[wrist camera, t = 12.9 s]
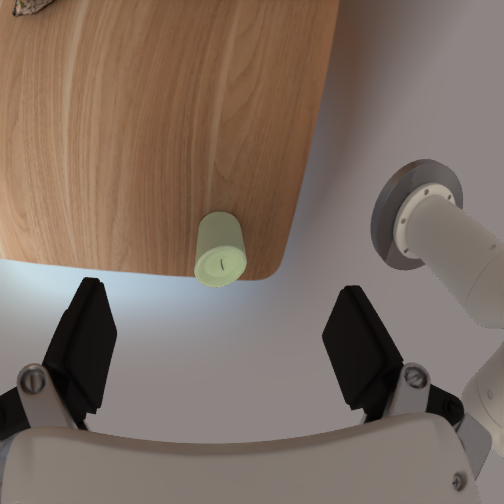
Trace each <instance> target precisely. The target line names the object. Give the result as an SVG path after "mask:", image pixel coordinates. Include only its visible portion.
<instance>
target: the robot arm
mask: <svg viewBox="0 0 504 504" xmlns="http://www.w3.org/2000/svg"><path fill="white" fill-rule="evenodd" d="M393 236H394V242H395V245H396V247H397V248H398V250H399V251H400V252H401V253H402V254H403V255H404V256H406V257H408V258H411V259H418V258H420V259H421V260H422V261H423V262H424V263H425V264H426V265H427V266H428V267H429V268H430V269H431V271H432V272H433V273H434V274H435V275H436V276H437V277H438V278H439V280H440V281H441V282H442V283H443V284H444V285H445V286H446V288H447V289H448V290H449V291H450V292H451V294H452V295H453V296H454V297H455V298H456V300H457V301H458V302H459V303H460V304H461V306H462V307H463V308H464V309H465V310H466V312H467V313H468V314H469V316H470V317H471V318H472V319H473V320H474V322H476V323H477V324H478V325H480V326H482V327H485V328H501V329H504V243H503V242H502V241H501V240H500V239H498V238H497V237H496V236H495V235H494V234H492V233H491V232H490V231H489V230H488V229H486V228H485V227H484V226H482V225H481V224H480V223H479V222H477V221H476V220H475V219H473V218H472V217H471V216H469V215H468V214H467V213H465V212H464V211H462V210H461V209H460V208H458V207H457V206H456V205H455V200H454V197H453V195H452V193H451V192H450V190H449V189H448V188H446V187H445V186H443V185H442V184H440V183H436V182H429V183H426V184H423V185H421V186H419V187H417V188H416V189H415V190H414V191H412V192H411V193H410V195H409V196H408V197H407V198H406V199H405V201H404V202H403V204H402V205H401V207H400V209H399V211H398V213H397V216H396V219H395V223H394V230H393ZM116 338H117V329H116V326H115V323H114V320H113V317H112V313H111V309H110V306H109V302H108V299H107V295H106V291H105V287H104V284H103V283H102V282H100V280H99V279H98V278H89V277H85V278H84V279H83V280H82V282H81V284H80V286H79V288H78V289H77V291H76V294H75V296H74V297H73V299H72V301H71V303H70V306H69V307H68V309H67V310H65V312H64V313H63V315H62V317H61V320H60V322H59V324H58V326H57V328H56V331H55V333H54V335H53V338H52V340H51V343H50V345H49V347H48V350H47V352H46V355H45V357H44V360H43V363H42V365H40V364H35V363H34V364H29V365H27V366H25V367H24V368H23V369H22V370H21V371H20V372H19V374H18V377H17V386H16V387H15V388H13V389H11V390H9V391H8V392H6V393H4V394H3V395H1V396H0V504H481V500H480V496H479V492H478V489H477V485H476V482H475V481H476V479H477V477H478V475H479V473H480V471H481V469H482V467H483V465H484V463H485V460H486V458H487V456H488V453H489V451H490V449H491V448H492V449H493V450H494V451H495V452H497V453H498V454H499V455H500V456H501V457H503V458H504V341H503V343H502V345H501V346H500V347H499V348H498V350H497V351H496V352H495V353H494V354H493V355H492V357H491V358H490V359H489V360H488V361H487V362H486V363H485V364H484V365H483V367H482V368H481V369H480V370H479V371H478V372H477V373H476V374H475V375H474V376H473V377H472V378H471V380H470V381H469V382H468V383H467V385H466V387H465V388H464V390H463V393H462V397H461V401H460V400H459V398H457V397H456V396H454V395H452V394H450V393H448V392H446V391H444V390H442V389H440V388H438V387H436V386H434V385H432V384H430V376H429V373H428V372H427V370H426V369H425V368H424V367H423V366H421V365H419V364H417V363H407V364H405V365H404V364H403V363H402V362H403V358H402V356H401V355H400V353H399V351H398V349H397V347H396V346H395V344H394V342H393V340H392V338H391V337H390V335H389V333H388V331H387V330H386V328H385V326H384V324H383V323H382V321H381V319H380V318H379V316H378V314H377V313H376V311H375V309H374V308H373V306H372V304H371V303H370V301H369V299H368V298H367V296H366V295H365V293H364V291H363V290H362V288H361V287H360V286H358V285H353V286H345V287H344V289H342V290H341V291H340V293H339V296H338V298H337V301H336V303H335V306H334V308H333V310H332V313H331V315H330V317H329V320H328V322H327V324H326V327H325V329H324V331H323V334H322V339H323V342H324V345H325V348H326V350H327V353H328V356H329V358H330V361H331V364H332V366H333V369H334V372H335V375H336V377H337V380H338V383H339V385H340V388H341V391H342V394H343V397H344V400H345V402H346V404H348V405H350V408H351V410H356V409H360V408H363V410H364V415H363V417H362V420H361V422H360V424H359V425H357V426H353V427H348V428H344V429H340V430H335V431H330V432H326V433H320V434H315V435H309V436H303V437H296V438H289V439H281V440H273V441H263V442H250V443H229V444H228V443H227V444H195V443H193V444H192V443H172V442H159V441H150V440H141V439H133V438H126V437H119V436H113V435H107V434H101V433H96V432H92V431H91V430H90V428H89V426H88V425H87V423H86V421H85V418H86V413H91V414H96V411H97V408H100V407H101V404H102V399H103V394H104V389H105V384H106V379H107V375H108V370H109V366H110V362H111V358H112V353H113V349H114V346H115V342H116Z"/></svg>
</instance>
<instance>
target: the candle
mask: <svg viewBox="0 0 504 504" xmlns="http://www.w3.org/2000/svg"><path fill="white" fill-rule="evenodd" d="M246 264H247V260H246V254H245V248H244V243H243V237H242V232H241V226H240V224H239V221H238V220H237V219H236V218H235V217H234V216H233V215H231V214H229V213H227V212H221V211H218V212H213V213H210V214H208V215H207V216H205V217H204V218H203V219H202V221H201V222H200V224H199V228H198V238H197V248H196V259H195V271H194V273H195V277H196V279H197V280H198V281H199V282H200V283H201V284H203V285H205V286H208V287H222V286H225V285H227V284H230V283H232V282H234V281H235V280H236V279H238V278H239V277H240V276H241V274H242V273H243V272H244V270H245V268H246Z"/></svg>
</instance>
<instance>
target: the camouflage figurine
mask: <svg viewBox="0 0 504 504" xmlns="http://www.w3.org/2000/svg"><path fill="white" fill-rule="evenodd" d="M51 1H52V0H16V4H15V6H14V7H15V8H14V11H13V12H12V13H13V14H12V15H13V16H15V15H17V16H18V15H20V14H21V15H22V14H28V13H30V15H31V13H32V12H33V13H37V11H39V10H40V9H41V8H42V7H43V6H45V5H47V4H48V3H50V2H51Z"/></svg>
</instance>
